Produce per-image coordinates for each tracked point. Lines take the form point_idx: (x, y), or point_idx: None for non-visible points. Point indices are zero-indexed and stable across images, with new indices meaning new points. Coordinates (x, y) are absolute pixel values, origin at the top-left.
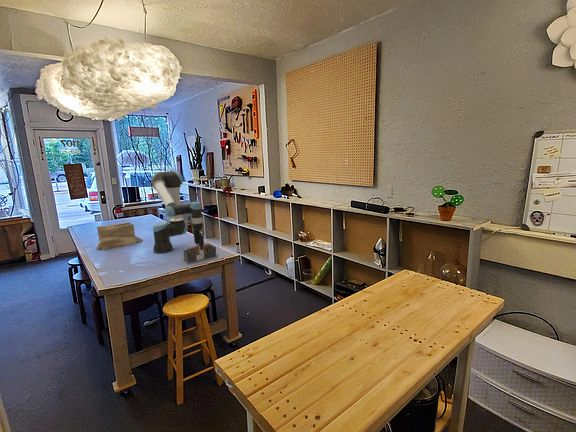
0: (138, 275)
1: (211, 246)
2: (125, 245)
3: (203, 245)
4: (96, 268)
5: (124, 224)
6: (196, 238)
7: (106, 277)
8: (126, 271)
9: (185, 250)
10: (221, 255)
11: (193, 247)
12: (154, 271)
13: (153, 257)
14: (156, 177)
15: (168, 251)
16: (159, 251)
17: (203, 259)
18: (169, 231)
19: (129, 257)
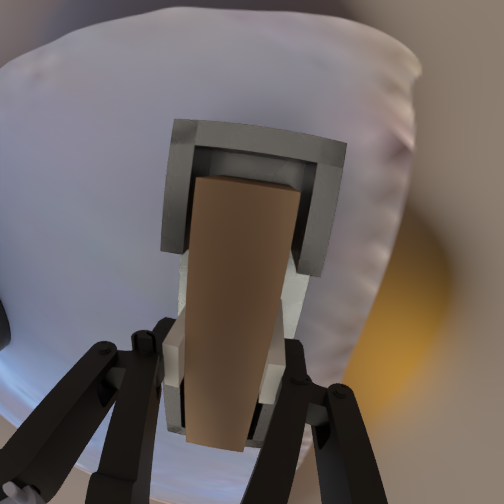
0: (222, 490)
1: (244, 151)
2: None
3: (238, 313)
4: (86, 469)
5: None
6: (150, 461)
7: (170, 499)
8: (154, 481)
9: (170, 422)
10: (324, 99)
11: (214, 417)
12: (227, 471)
13: (47, 386)
14: None
15: (2, 310)
16: (4, 345)
17: (303, 295)
18: None
19: (25, 404)
